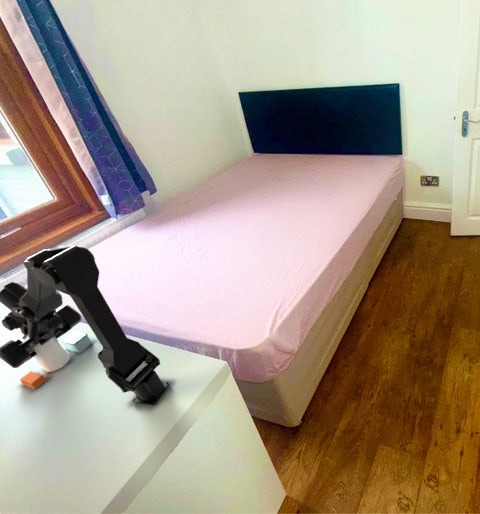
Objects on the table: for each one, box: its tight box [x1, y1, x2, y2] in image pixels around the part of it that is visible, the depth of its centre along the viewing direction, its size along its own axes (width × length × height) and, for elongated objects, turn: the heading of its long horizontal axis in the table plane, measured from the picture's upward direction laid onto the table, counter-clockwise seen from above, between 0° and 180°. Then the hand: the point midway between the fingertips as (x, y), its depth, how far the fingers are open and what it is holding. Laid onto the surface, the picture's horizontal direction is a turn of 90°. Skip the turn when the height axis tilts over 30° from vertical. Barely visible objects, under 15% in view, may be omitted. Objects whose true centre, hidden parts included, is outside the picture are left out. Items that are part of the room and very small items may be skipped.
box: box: [60, 330, 93, 354], centre depth 108 cm, size 6×4×4 cm
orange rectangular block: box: [19, 370, 48, 390], centre depth 98 cm, size 6×3×2 cm, turn 67°
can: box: [21, 334, 71, 373], centre depth 101 cm, size 6×6×12 cm
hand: (42, 346), depth 101 cm, fingers closed on can, 6 cm apart
